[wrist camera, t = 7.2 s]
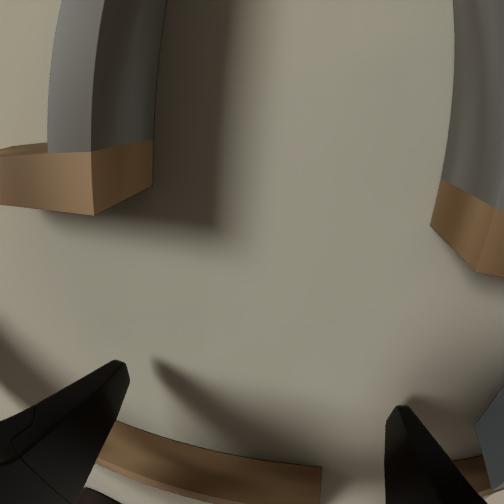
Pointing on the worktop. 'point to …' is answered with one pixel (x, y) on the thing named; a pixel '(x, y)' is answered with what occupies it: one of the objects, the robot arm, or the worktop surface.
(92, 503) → the vinegar
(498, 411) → the block
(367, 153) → the worktop surface
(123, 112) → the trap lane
